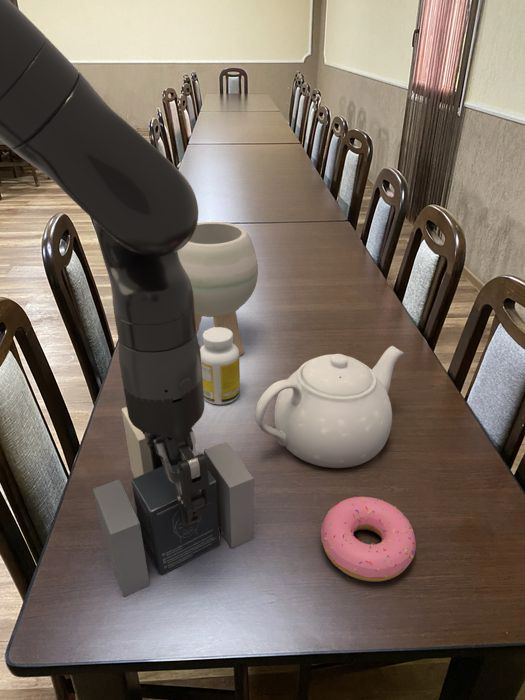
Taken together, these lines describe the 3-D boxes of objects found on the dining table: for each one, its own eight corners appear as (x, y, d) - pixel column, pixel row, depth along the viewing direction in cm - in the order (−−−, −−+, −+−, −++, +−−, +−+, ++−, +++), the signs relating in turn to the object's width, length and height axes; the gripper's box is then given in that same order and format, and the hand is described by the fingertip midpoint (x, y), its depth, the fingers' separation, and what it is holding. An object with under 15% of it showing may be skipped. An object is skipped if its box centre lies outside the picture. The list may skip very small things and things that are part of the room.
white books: (148, 506, 69) (138, 440, 63) (131, 472, 74) (121, 408, 68) (195, 488, 72) (189, 423, 66) (176, 456, 77) (169, 394, 71)
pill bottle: (246, 389, 91) (245, 329, 85) (229, 410, 86) (227, 348, 80) (212, 380, 93) (209, 321, 87) (193, 400, 88) (189, 339, 82)
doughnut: (315, 581, 60) (317, 556, 58) (323, 506, 69) (325, 482, 67) (416, 596, 58) (422, 572, 56) (410, 518, 67) (415, 494, 65)
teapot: (283, 390, 91) (285, 318, 84) (394, 408, 87) (406, 334, 80) (253, 464, 75) (252, 385, 68) (386, 490, 71) (400, 409, 64)
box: (199, 514, 68) (194, 451, 62) (221, 545, 64) (217, 480, 58) (140, 542, 64) (129, 477, 59) (159, 577, 60) (150, 511, 54)
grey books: (123, 597, 58) (110, 534, 53) (106, 549, 63) (92, 488, 58) (254, 538, 65) (253, 478, 59) (228, 500, 70) (226, 441, 65)
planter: (158, 359, 99) (145, 242, 87) (194, 320, 112) (188, 214, 100) (240, 375, 95) (238, 255, 83) (268, 332, 108) (270, 223, 96)
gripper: (103, 349, 55) (124, 466, 63) (149, 428, 44) (167, 556, 53) (172, 331, 58) (184, 445, 66) (230, 401, 47) (235, 526, 56)
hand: (176, 494), depth 60 cm, fingers open, 8 cm apart
